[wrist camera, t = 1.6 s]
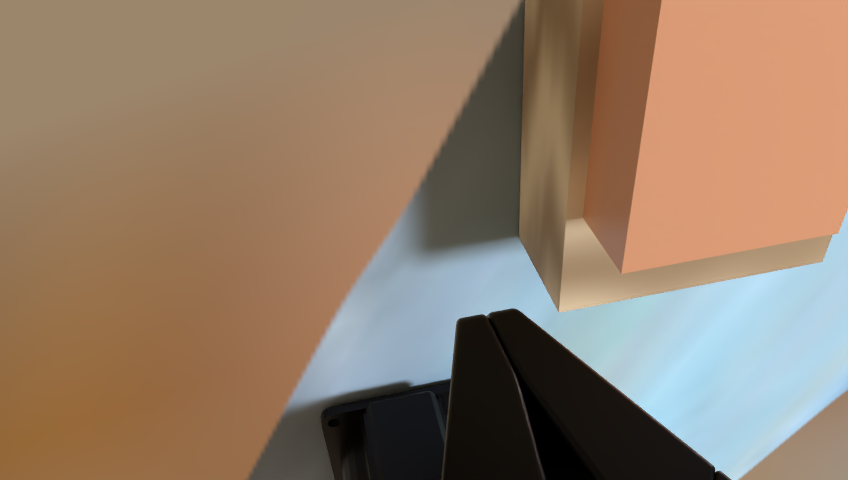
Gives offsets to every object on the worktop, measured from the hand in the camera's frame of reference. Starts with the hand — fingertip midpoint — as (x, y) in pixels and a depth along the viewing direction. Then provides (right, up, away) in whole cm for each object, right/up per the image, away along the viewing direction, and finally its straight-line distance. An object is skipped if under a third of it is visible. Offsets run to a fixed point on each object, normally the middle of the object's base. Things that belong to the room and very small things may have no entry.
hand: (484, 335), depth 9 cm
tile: (+6, +6, +7) cm, 11 cm away
